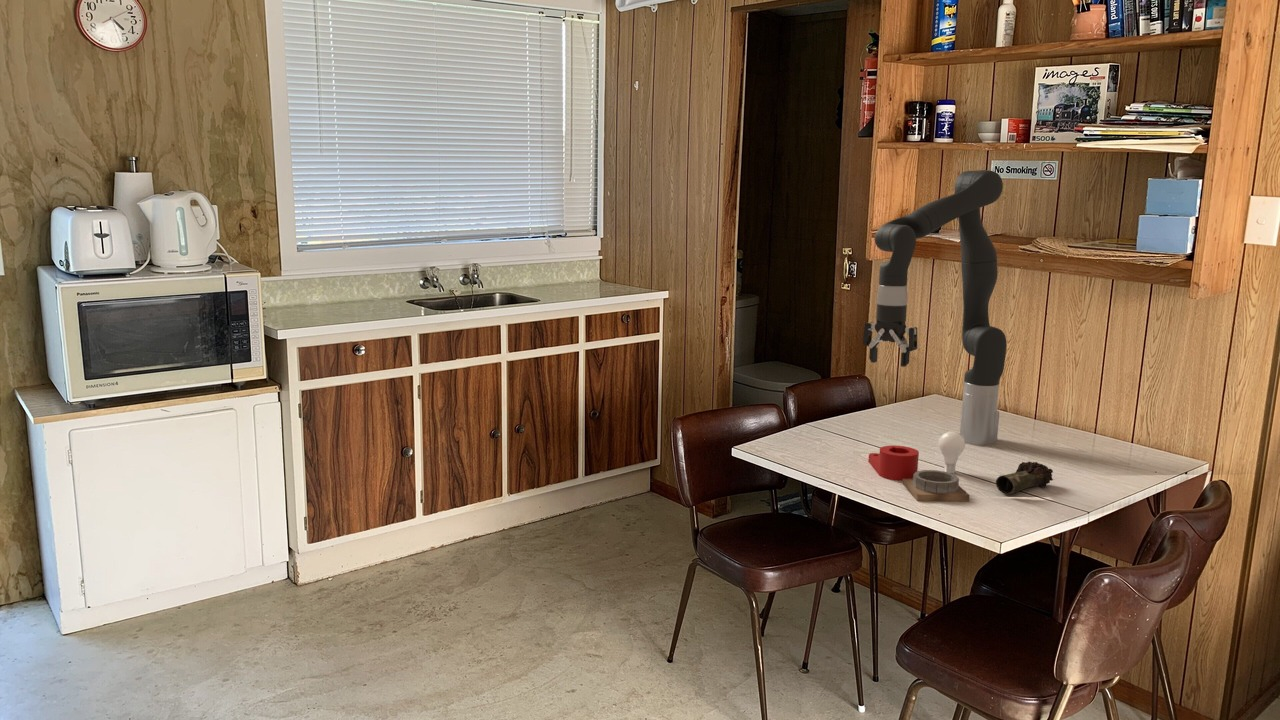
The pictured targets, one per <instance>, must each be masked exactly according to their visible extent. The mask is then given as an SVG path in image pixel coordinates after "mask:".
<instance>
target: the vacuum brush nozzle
mask: <svg viewBox="0 0 1280 720" xmlns="http://www.w3.org/2000/svg"><path fill="white" fill-rule="evenodd" d="M1053 473H1054V470H1053V469H1052V468H1049V467H1048V466H1047V465H1044V464H1043V463H1039V462H1038V461H1033V462H1032V461H1027V462H1025V461H1022V462H1021V463H1019V464H1018V468H1017V469H1016V471H1015V472H1011V473H1008V474H1007V473H1006V474H1003V475H1000V476H998V477H997V478H996V480H995V485H996V488H997V489H998V491H999V492H1000V493H1002V494H1004V495H1006V496H1008V495H1011V494H1013V493H1016V492H1020V491H1023V490H1025V489H1029V488H1031V487H1041V488H1046V487H1047V485H1048V484H1050V483H1051V481H1054V479H1053V477H1052V476H1053Z"/></svg>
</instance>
